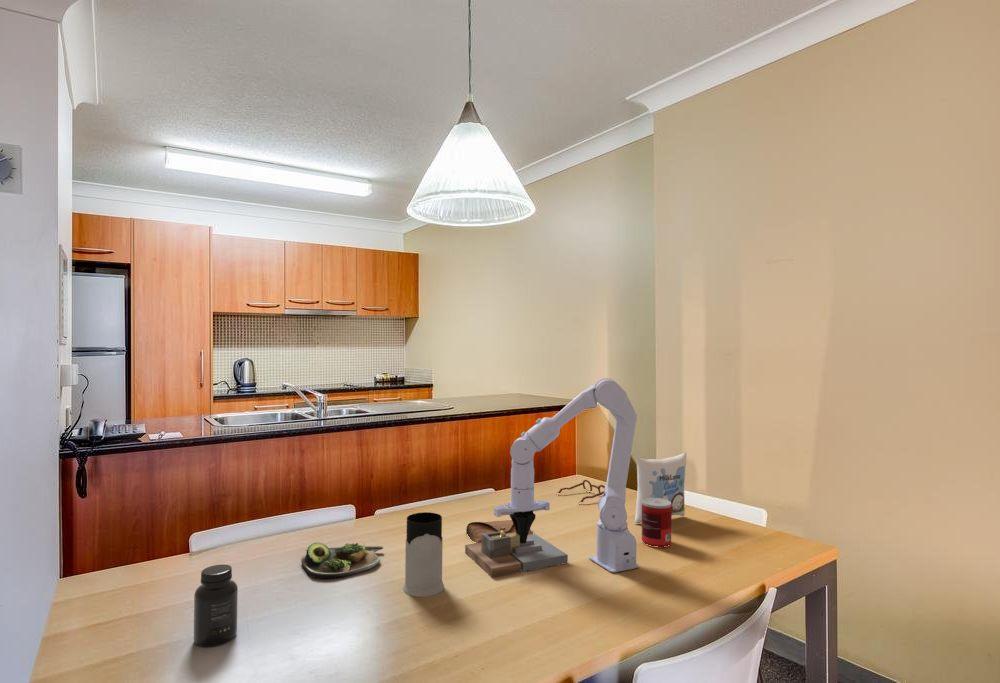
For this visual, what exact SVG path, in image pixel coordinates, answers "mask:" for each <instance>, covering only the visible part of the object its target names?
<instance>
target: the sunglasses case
mask: <svg viewBox="0 0 1000 683" xmlns="http://www.w3.org/2000/svg"><path fill="white" fill-rule="evenodd" d="M465 530H466V532H465V533H466V535H467V534H468V536H469V537H470V538H469V537H468V536H467V537H468V538H469V540H470V539H471V540H472V541H474V542H476V543H481V539H482V534H484V533H491V532H498V531H501V530H505V531H506V534H508V533H515V532H516V530H515V526H514V524H513V521H512V519H510V520H509V519H508V520H506V519H505V520H493V521H484V522H483V521H474V522H473V521H472V522H469V523H468V524H467V526H466V529H465ZM532 534H533V533H532V530H531V528H530V530H529V533H528V535H532ZM471 540H470V541H471ZM472 541H471V542H472Z"/></svg>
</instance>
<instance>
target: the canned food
mask: <svg viewBox="0 0 1000 683" xmlns="http://www.w3.org/2000/svg"><path fill="white" fill-rule="evenodd" d="M672 516H673V515H672V505H671V502H670V501H668V500H666V499H661V498H646V499H643V500H642V522H641V541H643V542H644V543H645V544H648V545H651V546H658V547H664V546H668V545H670V546H671V544H672V523H673V522H672V518H673V517H672ZM643 542H642V543H643ZM644 543H643V544H644ZM645 544H644V545H645ZM668 547H669V546H668Z"/></svg>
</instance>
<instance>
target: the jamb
mask: <svg viewBox="0 0 1000 683" xmlns="http://www.w3.org/2000/svg"><path fill="white" fill-rule="evenodd" d="M495 535H500V531H498V532H491V533H484V534H482V539H481V543H468V544H465V546H464V547H465V548H464V553H465V554H466V555H467V556H468V557H469V558H470V559H471V558H472V559H471V560H472V561H473V560H474V561H475V562H474V561H473V562H474V563H475V564H476V565H477V566H478V567H480V568H481V569H482V570H483V571H484V572H485V573H486V574H487V573H488V576H490V577H491V578H496V576H497V577H501V576H506V575H507V574H508V575H512V573H513V574H518V573H521V572H522V570H521V563H520V562H519V561H518V560H516V559H515V558H514V557H512V556H511V555H510V549H511V537H509V536H506V537H499V538H493V539H492V538H491V537H490V536H495ZM517 572H518V573H517Z"/></svg>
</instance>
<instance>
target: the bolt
mask: <svg viewBox="0 0 1000 683" xmlns="http://www.w3.org/2000/svg"><path fill="white" fill-rule="evenodd" d="M506 536H509V537H511V549H510V552H512V551H515V548H520V535H519V534H517V533H516V532H515V533H508V534H506V531H505V530H501V531H500V535H495V536H490V537H491V538H492V539H493V538H499V537H506Z"/></svg>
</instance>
